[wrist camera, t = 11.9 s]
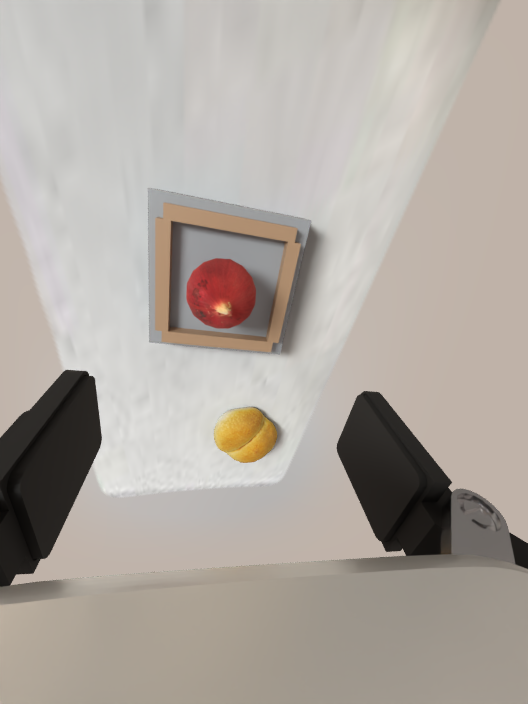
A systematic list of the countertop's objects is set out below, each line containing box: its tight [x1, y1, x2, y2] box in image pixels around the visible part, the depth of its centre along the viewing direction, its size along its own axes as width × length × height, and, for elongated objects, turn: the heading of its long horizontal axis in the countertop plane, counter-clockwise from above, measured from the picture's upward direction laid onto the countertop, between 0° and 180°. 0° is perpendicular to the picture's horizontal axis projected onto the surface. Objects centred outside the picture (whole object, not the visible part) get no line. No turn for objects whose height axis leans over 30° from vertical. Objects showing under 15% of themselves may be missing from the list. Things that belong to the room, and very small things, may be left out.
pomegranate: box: [186, 258, 256, 329], centre depth 24 cm, size 6×6×8 cm
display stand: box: [148, 188, 311, 355], centre depth 28 cm, size 14×14×4 cm
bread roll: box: [214, 407, 277, 463], centre depth 39 cm, size 8×9×4 cm
